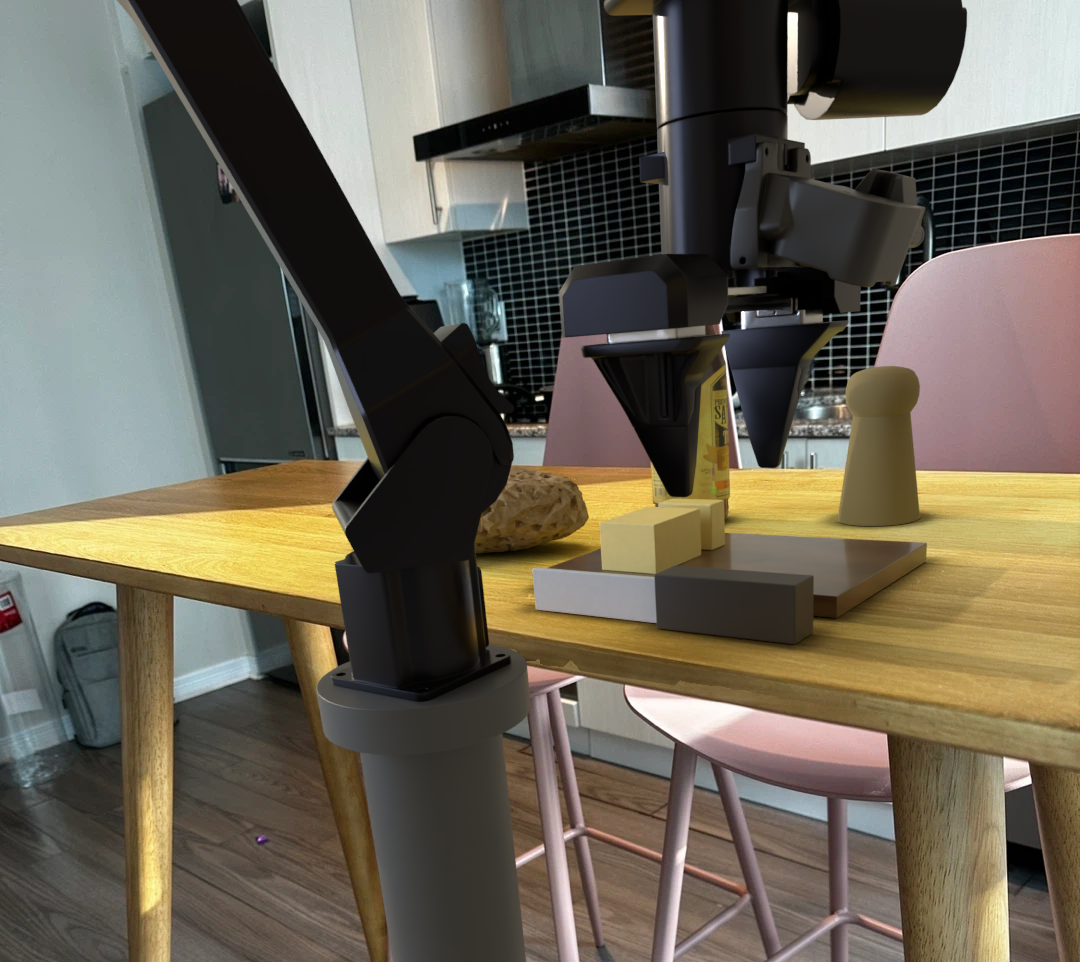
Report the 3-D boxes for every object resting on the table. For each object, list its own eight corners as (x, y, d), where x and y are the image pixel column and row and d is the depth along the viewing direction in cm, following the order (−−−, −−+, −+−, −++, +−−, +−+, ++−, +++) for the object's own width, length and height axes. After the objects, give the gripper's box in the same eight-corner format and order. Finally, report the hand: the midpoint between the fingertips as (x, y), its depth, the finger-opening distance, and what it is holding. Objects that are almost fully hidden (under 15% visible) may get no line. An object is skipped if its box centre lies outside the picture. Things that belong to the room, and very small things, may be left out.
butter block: (656, 574, 62) (654, 524, 61) (601, 570, 64) (598, 522, 63) (701, 555, 66) (700, 508, 65) (648, 551, 68) (646, 506, 67)
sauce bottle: (736, 525, 81) (731, 249, 74) (657, 531, 81) (644, 257, 74) (723, 511, 87) (717, 255, 80) (649, 518, 87) (637, 263, 80)
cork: (933, 513, 78) (941, 361, 75) (898, 528, 74) (904, 368, 71) (859, 509, 82) (863, 365, 79) (822, 523, 78) (824, 372, 75)
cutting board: (836, 618, 54) (837, 596, 54) (538, 589, 66) (537, 571, 66) (926, 561, 64) (927, 542, 64) (654, 545, 76) (653, 529, 76)
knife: (794, 645, 51) (795, 585, 49) (526, 613, 61) (521, 563, 60) (813, 633, 52) (814, 575, 51) (548, 604, 62) (544, 555, 61)
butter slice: (712, 550, 67) (711, 504, 66) (659, 547, 69) (657, 502, 68) (725, 545, 68) (724, 499, 67) (673, 542, 71) (671, 498, 70)
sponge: (338, 567, 85) (456, 541, 68) (331, 471, 84) (450, 422, 68) (475, 566, 92) (612, 543, 76) (470, 478, 91) (608, 435, 75)
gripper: (803, 51, 34) (800, 522, 39) (974, 110, 47) (954, 455, 53) (538, 116, 41) (567, 512, 46) (754, 152, 54) (756, 455, 60)
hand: (727, 481), depth 51 cm, fingers open, 9 cm apart
